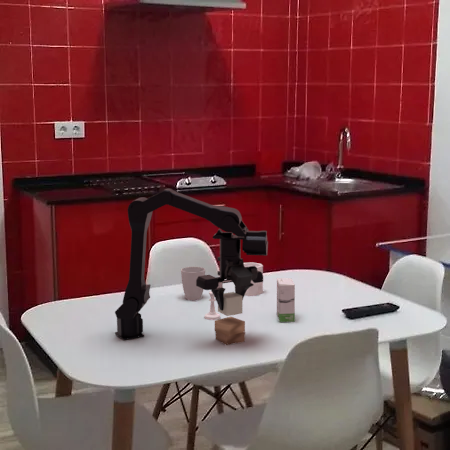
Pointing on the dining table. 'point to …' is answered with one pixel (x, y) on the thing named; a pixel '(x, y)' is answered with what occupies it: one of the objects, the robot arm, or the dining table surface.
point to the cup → (192, 282)
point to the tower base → (230, 338)
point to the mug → (257, 287)
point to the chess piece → (212, 309)
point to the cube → (231, 304)
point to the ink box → (285, 300)
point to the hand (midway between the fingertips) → (230, 308)
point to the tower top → (229, 326)
